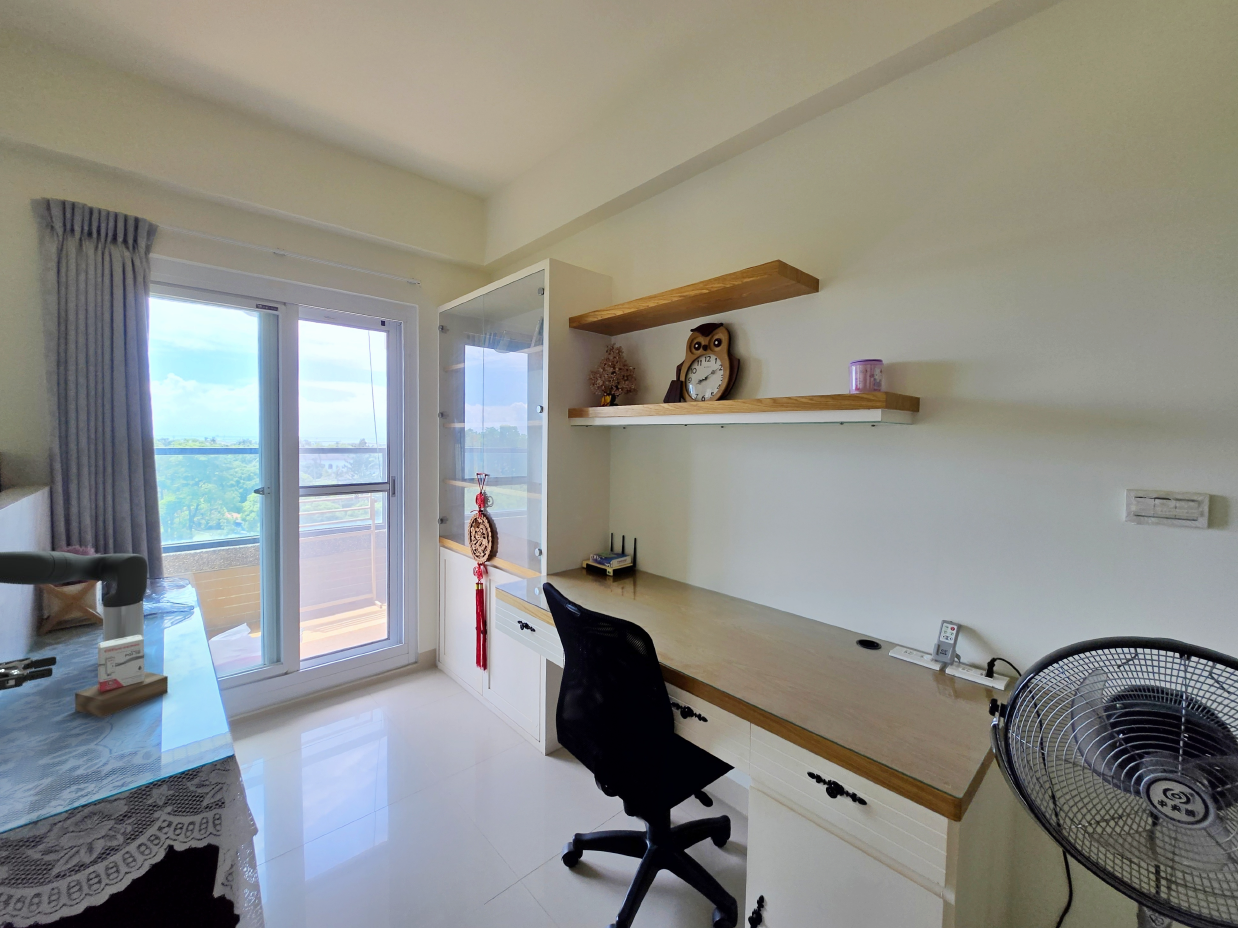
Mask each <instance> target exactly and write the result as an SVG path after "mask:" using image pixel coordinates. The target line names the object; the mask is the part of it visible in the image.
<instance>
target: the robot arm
mask: <svg viewBox="0 0 1238 928" xmlns="http://www.w3.org/2000/svg"><path fill="white" fill-rule="evenodd" d="M148 566H149V565H148V562H147V559H146V557H145V556H143V555H141V554H140V553H139V554H138V553H120V552H119V553H109V554H106V553H105V554H96V555H81V554H77V553H76V554H75V553H71V552H65V551H64V552H63V551H54V550H51V551H49V550H47V551H46V550H29V551H28V550H22V551H21V550H19V551H17V550H15V551H0V584H8V585H9V584H10V585H22V586H23V585H26V586H28V585H30V586H31V585H33V586H38V585H39V586H41V585H42V586H43V585H55V584H57V585H58V584H63V583H67V582H73V581H92V582H93V581H96V582H104V583H113V584H114V583H115V584H116V590H115V592H113V593H109V594H107V595H105V596H104V597H103V600H102V615H103V616H102V625H103V626H102V629H103V637H102V639H103V641H102V642H105V641H110V640H115V639H119V638H125V637H129V636H135V635H142V636H143V638H144V639H145V636H144V635H145V634H144V631H145V629H144V626H145V625H144V624H145V622H144V620H145V619H144V596H145V594H146V591H147V586H148V572H149V571H148V570H149V569H148V568H149V567H148ZM55 665H57V656H56V655H54V656H48V657H44V658H43V657H42V658H38V659H37V658H36V659H33V658H31V657H24V658H19V659H15V660H14V659H13V660H9V661H5V662H0V691H5V690H10V689H15V688H20V687H23V686H24V684H27V683H29V682H31V681H36V680H41V679H46V678H51V677H52V676H53V673H54V672H53V671H54V670H53V669H54V668H53V667H54V666H55Z"/></svg>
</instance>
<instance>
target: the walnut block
mask: <svg viewBox="0 0 1238 928" xmlns="http://www.w3.org/2000/svg"><path fill="white" fill-rule="evenodd" d="M168 678H169V677H168V675H164V674H160V673H156V672H151V671H146V670H144V681H142V682H138V683H134V684H130V685H127V686H123V687H119V688H115V689H111V690H107V691H103V692H100V691H99V690H98V684H97V685H94V686H91V687H87V688H86V689H82V690H80V691H76V692H75V693H74V701H75V702H74V704H75V706H74V707H75V708H74V710H75V711H76V712H80V713H81V712H82V713H84V714H87V715H91V716H94V717H99V718H101V719H103V718H105V717H108V716H109V717H110V716H111V715H114V714H116V713H119V712H121V711H123V710H126V709H129V708H131V707H134V706H136V705H138V704H141V703H144V702H147V701H150V700H151V699H154V698H156V697H157V698H158V697H159V696H161V695H163V694H166V693H169V691H168V690H169V687H168V684H169V682H168V680H169V679H168Z"/></svg>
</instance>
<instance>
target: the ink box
mask: <svg viewBox="0 0 1238 928" xmlns="http://www.w3.org/2000/svg"><path fill="white" fill-rule="evenodd" d="M144 641H145V637H144V638H143V636H142V635H135V636H129V637H125V638H119V639H115V640H110V641H105V642H103V641H101V642H99V643H97V685H98V690H99V691H100V692H103V691H107V690H111V689H115V688H119V687H123V686H127V685H130V684H134V683H138V682H142V681H144V671H145V642H144Z"/></svg>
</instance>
